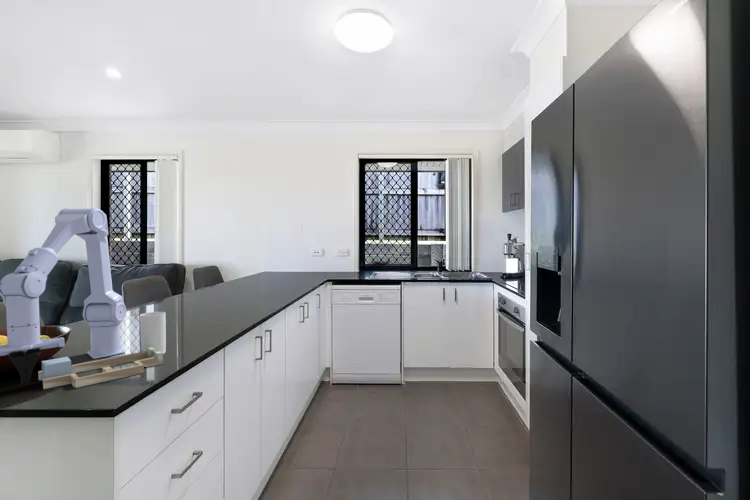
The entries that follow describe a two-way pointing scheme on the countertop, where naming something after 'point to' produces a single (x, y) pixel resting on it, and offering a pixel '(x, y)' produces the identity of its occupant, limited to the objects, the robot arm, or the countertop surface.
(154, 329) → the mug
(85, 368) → the beige flat frame
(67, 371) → the block
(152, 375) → the countertop surface
